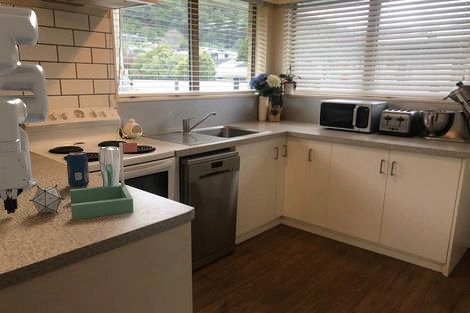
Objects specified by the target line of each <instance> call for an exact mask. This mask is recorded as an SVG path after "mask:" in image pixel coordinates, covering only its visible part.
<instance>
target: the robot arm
mask: <svg viewBox="0 0 470 313" xmlns="http://www.w3.org/2000/svg"><path fill="white" fill-rule="evenodd" d="M39 35H40V34H39V22H38V17H37V15H36V13H35V11H33V10H32V9H30V8H26V7H18V6H17V7H15V6H8V5H7V6H5V5H0V91H1V92H13V93H14V92H22V93H23V92H25V93H26V92H27V93H28V92H30V93H31V94H32V95H0V199H1V200H2V201H3V206H4V208H3V210H4V211H6V212H7V214H8V215H10V214H15V213H16V210H18V208H19V204H18V197H19V196H20V195H21V194H22V193H23V192H24V193H25V192H27V191H30V190H32V188H33V187H34V186H37V184H38V179H37V178H34V177H33V173H32V164H31V154H30V153H31V152H30V144H29V135H28V133H27V132H26V131H25V130H24V129H23V128H22V127H21V126H20V124H22V125H23V124H38V123H39V124H40V123H41V124H42V123H45V122H47V121H48V119H49V116H50V112H49V101H48V99H49V98H48V88H47V78H46V73H45V70H44V69H43V67H42V66H41V65H39V64H36V63H22V62H20V54H19V47H18V46H35V45H37V43H38V42H39V41H38V40H39ZM8 191H11V195H9V193H8Z"/></svg>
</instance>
